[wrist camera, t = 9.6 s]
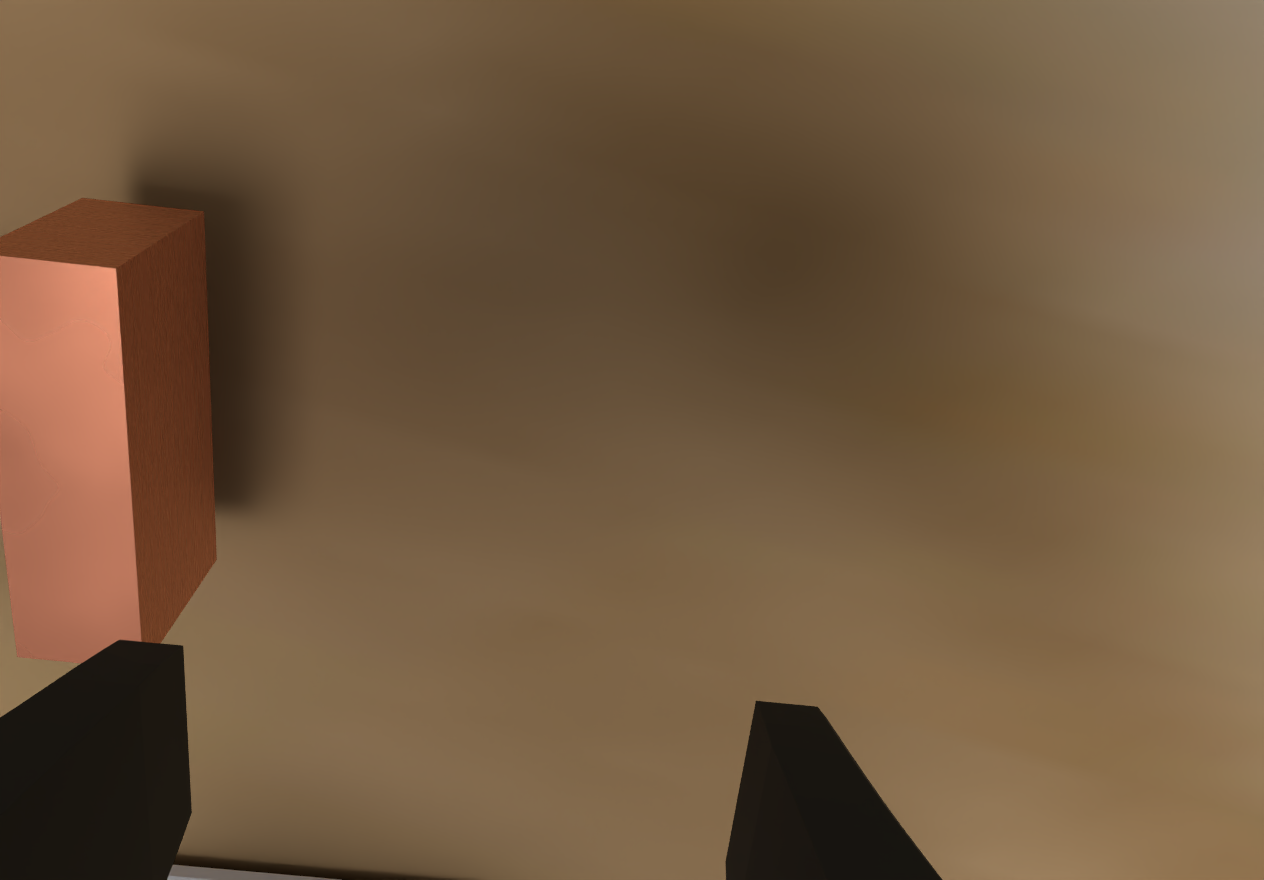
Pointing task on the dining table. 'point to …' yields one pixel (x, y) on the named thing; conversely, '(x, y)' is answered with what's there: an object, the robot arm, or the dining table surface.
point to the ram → (104, 425)
